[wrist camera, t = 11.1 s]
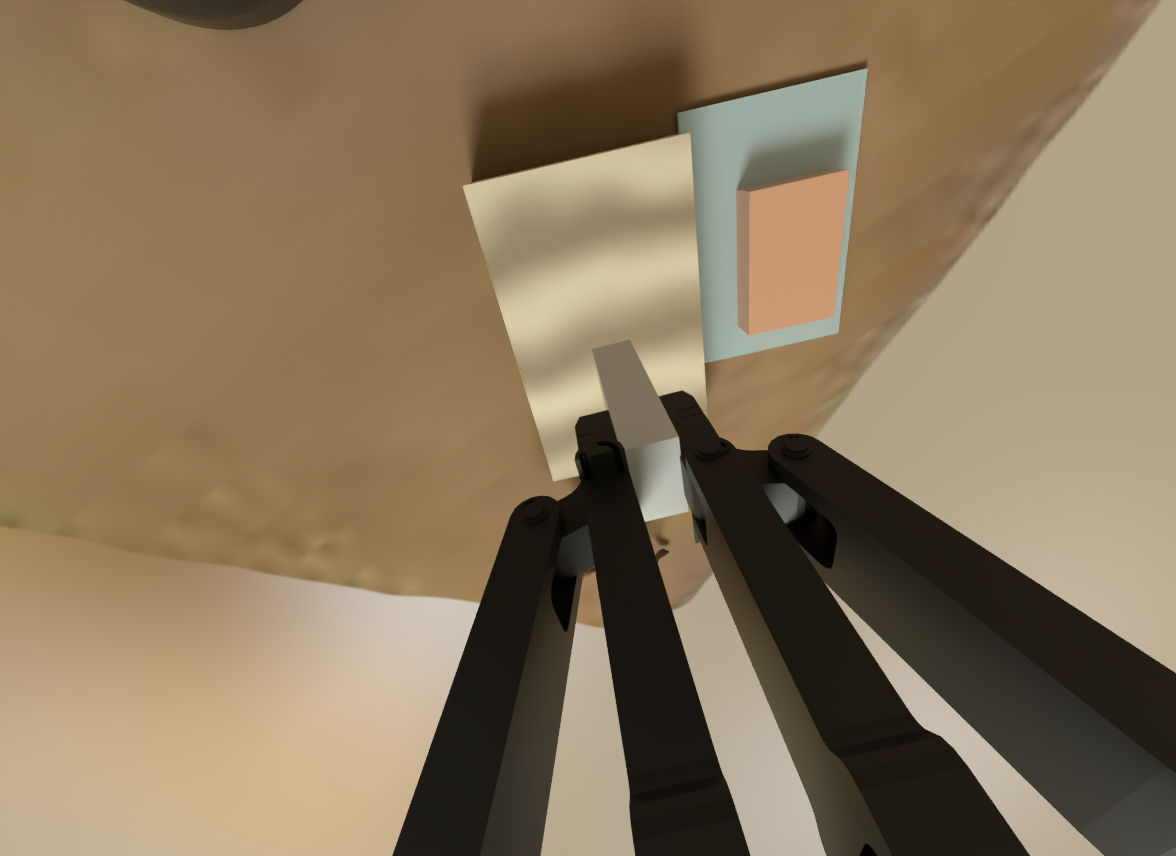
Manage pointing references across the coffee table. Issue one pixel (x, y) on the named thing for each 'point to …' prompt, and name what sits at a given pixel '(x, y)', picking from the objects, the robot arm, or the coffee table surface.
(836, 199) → the tile
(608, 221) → the plate
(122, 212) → the coffee table surface
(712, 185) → the mat
